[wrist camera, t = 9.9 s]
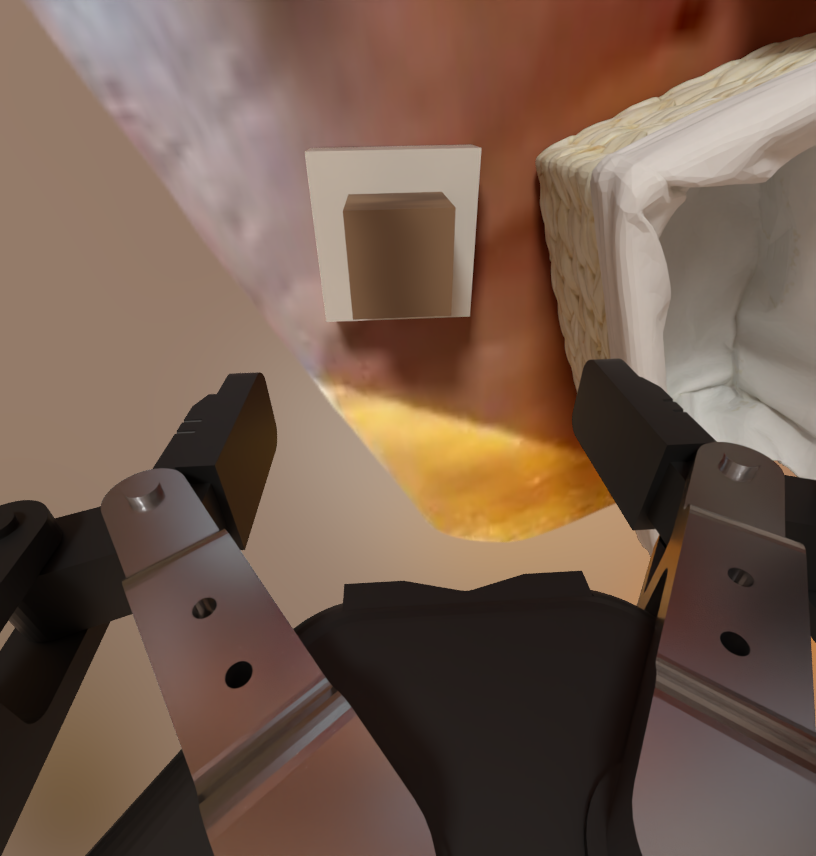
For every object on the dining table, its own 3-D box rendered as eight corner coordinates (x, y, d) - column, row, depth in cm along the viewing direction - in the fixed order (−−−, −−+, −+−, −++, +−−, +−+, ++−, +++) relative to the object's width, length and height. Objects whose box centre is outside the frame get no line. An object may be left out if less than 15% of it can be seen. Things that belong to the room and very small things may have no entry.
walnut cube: (441, 191, 24) (455, 207, 20) (439, 285, 27) (451, 315, 23) (348, 194, 24) (342, 210, 19) (356, 288, 26) (352, 319, 22)
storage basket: (769, 379, 36) (968, 512, 24) (570, 445, 39) (658, 595, 27) (805, 0, 23) (1298, -131, 11) (499, 142, 25) (612, 167, 13)
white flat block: (471, 144, 25) (481, 147, 23) (462, 300, 30) (469, 316, 28) (311, 148, 25) (304, 151, 22) (330, 304, 30) (326, 321, 28)
